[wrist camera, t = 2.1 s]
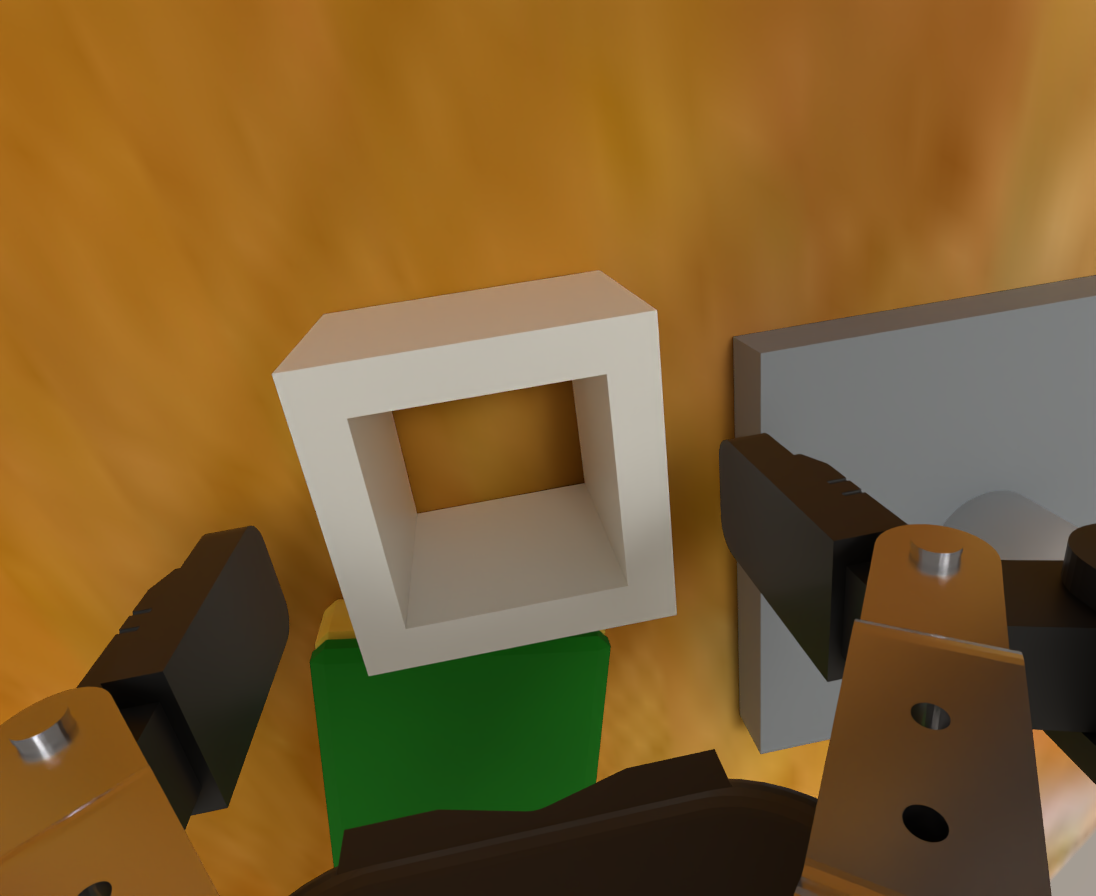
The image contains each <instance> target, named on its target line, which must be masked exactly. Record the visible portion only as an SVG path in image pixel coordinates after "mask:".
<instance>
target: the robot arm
mask: <svg viewBox="0 0 1096 896" xmlns="http://www.w3.org/2000/svg"><path fill="white" fill-rule="evenodd" d="M719 471H720V499H721V522H722V529H723V533H724V537H725V540H726V543H727V546H728V548H729V550H730V552H731V553H732V555H733V556H734V558H735V559H736V560H737V562H738V563H739V564H740V566H741V567H742V568H743V570H744V571H745V572H746V574H747V575H748V576H749V578H750V579H751V580H752V582H753V583H754V584H755V586H756V587H757V588H758V590H759V591H760V592H761V594H762V595H763V596H764V598H765V599H766V600H767V602H768V603H769V605H770V606H771V607H772V609H773V610H774V611H775V613H776V614H777V615H778V617H779V618H780V619H781V621H782V622H783V623H784V625H785V626H786V627H787V629H788V630H789V631H790V633H791V634H792V635H793V637H794V638H795V639H796V641H797V642H798V643H799V645H800V646H801V647H802V649H803V650H804V651H805V653H806V654H807V655H808V657H809V658H810V659H811V661H812V662H813V663H814V665H815V666H816V667H817V669H818V670H819V672H820V673H821V674H822V676H823V677H824V678H825V680H826V681H827V682H831V681H835V680H840V679H842V683H841V688H840V693H839V697H838V702H837V707H836V712H835V717H834V722H833V727H832V732H831V737H830V742H829V747H828V751H827V756H826V761H825V766H824V771H823V776H822V781H821V786H820V791H819V796H818V799H816V798H814V797H812V796H810V795H807V794H804V793H801V792H798V791H795V790H792V789H789V788H786V787H782V786H777V785H773V784H769V783H765V782H758V781H750V780H742V779H728V778H727V775H726V773H725V771H724V769H723V767H722V765H721V762H720V760H719V758H718V756H717V754H716V752H715V749H713V750H708V751H704V752H699V753H695V754H690V755H686V756H681V757H676V758H672V759H667V760H663V761H658V762H653V763H649V764H644V765H640V766H635V767H630V768H626V769H624V770H622V771H620V772H618V773H616V774H614V775H611V776H609V777H607V778H605V779H603V780H601V781H599V782H597V783H595V784H593V785H591V786H588V787H586V788H584V789H582V790H580V791H578V792H576V793H574V794H572V795H570V796H568V797H565V798H563V799H561V800H559V801H557V802H555V803H553V804H551V805H549V806H547V807H544V808H542V809H539V810H534V811H487V810H433V811H429V812H424V813H420V814H415V815H410V816H406V817H401V818H397V819H392V820H388V821H383V822H378V823H374V824H369V825H365V826H360V827H355V828H351V829H346V830H344V834H343V840H342V846H341V852H340V858H339V864H338V866H337V867H335V868H333V869H331V870H329V871H327V872H325V873H323V874H321V875H320V876H318V877H316V878H315V879H313V880H311V881H310V882H308V883H306V884H305V885H303V886H302V887H300V888H299V889H297V890H296V891H295V892H293V893H292V894H291V895H289V896H1051V888H1050V879H1049V870H1048V861H1047V853H1046V844H1045V836H1044V827H1043V818H1042V810H1041V801H1040V792H1039V784H1038V775H1037V766H1036V758H1035V749H1034V741H1033V732H1032V729H1036V730H1043V731H1044V732H1045V733H1046V734H1047V735H1048V736H1049V737H1050V738H1051V739H1052V740H1053V741H1054V742H1055V743H1056V744H1057V745H1058V746H1059V747H1060V748H1061V749H1062V750H1063V751H1064V753H1065V754H1066V755H1067V756H1068V757H1069V758H1070V759H1071V760H1072V761H1073V762H1074V763H1075V764H1076V765H1077V766H1078V767H1079V768H1080V769H1081V770H1082V771H1083V772H1084V773H1085V774H1086V775H1087V776H1088V777H1089V778H1090V779H1091V780H1092V781H1093V782H1094V783H1095V784H1096V524H1090V525H1085V526H1082V527H1080V528H1077V529H1076V530H1074V531H1073V532H1072V533H1071V534H1070V535H1069V538H1068V542H1067V547H1066V552H1065V557H1064V560H1001V559H1000V556H999V554H998V553H997V551H996V550H995V549H994V548H993V547H992V546H991V545H989V544H988V543H987V542H985V541H984V540H982V539H980V538H978V537H977V536H974V535H972V534H970V533H967V532H964V531H961V530H958V529H954V528H950V527H945V526H939V525H930V524H911V525H908V524H907V523H905V522H904V521H903V520H901V519H900V518H899V517H897V516H896V515H895V514H893V513H892V512H891V511H890V510H888V509H887V508H886V507H884V506H883V505H882V504H880V503H879V502H878V501H876V500H875V499H874V498H872V497H871V496H870V495H868V494H867V493H866V492H863V493H862V491H861V488H859V487H858V486H857V485H855V484H854V483H853V482H851V481H850V480H849V481H847V480H846V477H845V476H843V475H842V474H841V473H839V472H838V471H837V470H835V469H834V468H833V467H832V466H830V465H829V464H827V463H825V462H822V461H819V460H816V459H814V458H811V457H808V456H805V455H803V454H796V455H793V454H792V453H791V452H790V451H788V450H787V449H786V448H785V447H783V446H782V445H781V444H780V443H779V442H777V441H776V440H775V439H774V438H772V437H771V436H770V435H768V434H767V433H761V434H755V435H750V436H744V437H739V438H733V439H728V440H723V441H722V443H721V445H720V449H719ZM119 631H120V634H117V635H115V636H114V638H113V639H112V640H111V642H110V643H109V644H108V646H107V647H106V648H105V650H104V651H103V653H102V654H101V655H100V657H99V658H98V659H97V661H96V662H95V663H94V665H93V666H92V667H91V669H90V670H89V672H88V673H87V674H86V676H85V677H84V678H83V680H82V681H81V682H80V684H79V685H78V687H77V688H75V689H71V690H67V691H64V692H60V693H57V694H55V695H52V696H50V697H47V698H45V699H43V700H41V701H39V702H36V703H34V704H33V705H31V706H29V707H27V708H25V709H24V710H22V711H20V712H19V713H17V714H16V715H14V716H13V717H11V718H10V719H8V720H7V721H6V722H4V723H3V724H2V725H0V896H220V895H219V894H218V892H217V890H216V888H215V886H214V884H213V882H212V881H211V879H210V877H209V875H208V873H207V871H206V869H205V868H204V866H203V864H202V862H201V860H200V858H199V856H198V855H197V853H196V851H195V849H194V847H193V845H192V843H191V842H190V840H189V838H188V836H187V834H186V832H185V829H186V826H187V824H188V821H189V819H190V816H191V815H196V814H201V813H205V812H210V811H215V810H219V809H224V808H228V806H229V803H230V800H231V797H232V794H233V791H234V789H235V786H236V783H237V780H238V777H239V775H240V772H241V769H242V766H243V763H244V761H245V758H246V755H247V752H248V749H249V746H250V744H251V741H252V738H253V735H254V732H255V730H256V727H257V724H258V721H259V718H260V716H261V713H262V710H263V707H264V704H265V701H266V699H267V696H268V693H269V690H270V687H271V685H272V682H273V679H274V676H275V673H276V671H277V668H278V665H279V662H280V659H281V656H282V654H283V651H284V648H285V645H286V642H287V639H288V634H289V615H288V609H287V604H286V601H285V598H284V595H283V593H282V590H281V587H280V584H279V582H278V579H277V576H276V573H275V570H274V568H273V565H272V562H271V559H270V556H269V554H268V551H267V548H266V545H265V543H264V540H263V537H262V535H261V533H260V532H259V530H258V529H257V528H256V527H254V526H247V527H242V528H237V529H231V530H226V531H220V532H215V533H209V534H205V535H204V536H203V537H202V538H201V539H200V541H199V542H198V543H197V545H196V546H195V548H194V549H193V551H192V552H191V554H190V555H189V556H188V558H187V559H186V561H185V562H184V564H183V565H182V566H181V568H179V569H175V570H173V571H172V572H171V573H170V574H168V575H167V576H166V577H165V578H163V579H162V580H161V581H159V582H158V583H157V584H156V585H154V586H153V587H152V588H150V589H149V590H148V591H147V593H146V594H145V595H144V597H143V598H142V600H141V601H140V602H139V604H138V605H137V606H136V608H135V609H134V610H133V616H129V617H128V619H127V620H126V621H125V623H124V624H123V625H122V627H121V628H120V629H119Z"/></svg>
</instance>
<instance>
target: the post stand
mask: <svg viewBox="0 0 1096 896" xmlns="http://www.w3.org/2000/svg"><path fill="white" fill-rule="evenodd" d="M733 353H734V411H735V438H739V437H744V436H750V435H755V434H761V433H767V434H768V435H770V436H771V437H772V438H774V439H775V440H776V441H777V442H779V443H780V444H781V445H782V446H783V447H785V448H786V449H787V450H788V451H790V452H791V453H792V454H793V455H796V454H803V455H805V456H808V457H811V458H814V459H816V460H819V461H822V462H825V463H827V464H829V465H830V466H832V467H833V468H834V469H835V470H837V471H838V472H839V473H841V474H842V475H843V476H845V477H846V480H847V481H849V480H850V481H851V482H853V483H854V484H855V485H857V486H858V487H859V488H861V491H862V493H863V492H866V493H867V494H868V495H870V496H871V497H872V498H874V499H875V500H876V501H878V502H879V503H880V504H882V505H883V506H884V507H886V508H887V509H888V510H890V511H891V512H892V513H893V514H895V515H896V516H897V517H899V518H900V519H901V520H903V521H904V522H905V523H907V524H908V525H911V524H930V525H939V526H945V527H950V528H954V529H958V530H961V531H964V532H967V533H970V534H972V535H974V536H977V537H978V538H980V539H982V540H984V541H985V542H987V543H988V544H989V545H991V546H992V547H993V548H994V549H995V550H996V551H997V553H998V554H999V556H1000V559H1001V560H1064V557H1065V552H1066V547H1067V542H1068V538H1069V535H1070V534H1071V533H1072V532H1073V531H1074V530H1076V529H1077V528H1080V527H1082V526H1085V525H1090V524H1096V275H1094V276H1088V277H1082V278H1076V279H1071V280H1065V281H1059V282H1053V283H1047V284H1041V285H1035V286H1029V287H1023V288H1017V289H1012V290H1006V291H1000V292H994V293H988V294H982V295H976V296H970V297H964V298H959V299H953V300H947V301H941V302H935V303H929V304H923V305H917V306H911V307H906V308H900V309H894V310H888V311H882V312H876V313H870V314H864V315H858V316H853V317H847V318H841V319H835V320H829V321H823V322H817V323H811V324H805V325H799V326H794V327H788V328H782V329H776V330H770V331H764V332H758V333H752V334H746V335H741V336H735V337H733ZM737 584H738V642H739V700H740V716H741V718H742V720H743V722H744V723H745V725H746V727H747V729H748V731H749V733H750V735H751V737H752V739H753V741H754V742H755V744H756V746H757V748H758V750H759V752H760V754H763V753H768V752H773V751H777V750H782V749H787V748H791V747H796V746H800V745H805V744H810V743H814V742H819V741H824V740H828V739H830V737H831V732H832V727H833V722H834V717H835V712H836V707H837V702H838V697H839V693H840V688H841V683H842V679H840V680H835V681H831V682H827V681H826V680H825V678H824V677H823V676H822V674H821V673H820V672H819V670H818V669H817V667H816V666H815V665H814V663H813V662H812V661H811V659H810V658H809V657H808V655H807V654H806V653H805V651H804V650H803V649H802V647H801V646H800V645H799V643H798V642H797V641H796V639H795V638H794V637H793V635H792V634H791V633H790V631H789V630H788V629H787V627H786V626H785V625H784V623H783V622H782V621H781V619H780V618H779V617H778V615H777V614H776V613H775V611H774V610H773V609H772V607H771V606H770V605H769V603H768V602H767V600H766V599H765V598H764V596H763V595H762V594H761V592H760V591H759V590H758V588H757V587H756V586H755V584H754V583H753V582H752V580H751V579H750V578H749V576H748V575H747V574H746V572H745V571H744V570H743V568H742V567H741V566H740V564H739V563H738V562H737Z"/></svg>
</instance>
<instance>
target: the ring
mask: <svg viewBox="0 0 1096 896" xmlns="http://www.w3.org/2000/svg"><path fill="white" fill-rule="evenodd" d="M272 376H273V380H274V383H275V386H276V389H277V392H278V395H279V398H280V401H281V405H282V408H283V411H284V414H285V417H286V420H287V423H288V426H289V429H290V433H291V436H292V439H293V442H294V445H295V448H296V451H297V454H298V458H299V461H300V464H301V467H302V470H303V473H304V476H305V479H306V482H307V486H308V489H309V492H310V495H311V498H312V501H313V504H314V507H315V511H316V514H317V517H318V520H319V523H320V526H321V529H322V532H323V536H324V539H325V542H326V545H327V548H328V551H329V554H330V557H331V560H332V564H333V567H334V570H335V573H336V576H337V579H338V582H339V585H340V589H341V592H342V595H343V598H344V601H345V604H346V607H347V610H348V613H349V617H350V620H351V623H352V626H353V629H354V632H355V635H356V638H357V642H358V645H359V648H360V651H361V654H362V657H363V660H364V663H365V666H366V670H367V673H368V676H373V675H378V674H383V673H388V672H393V671H398V670H403V669H408V668H413V667H418V666H423V665H428V664H433V663H438V662H443V661H448V660H453V659H458V658H463V657H468V656H473V655H478V654H483V653H488V652H493V651H498V650H503V649H508V648H513V647H518V646H523V645H528V644H533V643H538V642H543V641H548V640H553V639H558V638H563V637H568V636H573V635H578V634H583V633H588V632H593V631H598V630H604V629H609V628H614V627H619V626H624V625H629V624H634V623H639V622H644V621H649V620H654V619H659V618H664V617H669V616H674V615H677V608H676V593H675V578H674V562H673V547H672V531H671V516H670V501H669V485H668V470H667V454H666V439H665V424H664V408H663V393H662V377H661V362H660V347H659V331H658V316H657V310H656V309H655V308H653V307H652V306H650V305H649V304H647V303H646V302H645V301H643V300H642V299H640V298H639V297H637V296H636V295H635V294H633V293H632V292H630V291H629V290H627V289H626V288H625V287H623V286H622V285H620V284H619V283H617V282H616V281H614V280H613V279H612V278H610V277H609V276H607V275H606V274H604V273H603V272H602V271H600V270H597V271H591V272H585V273H578V274H572V275H566V276H560V277H553V278H547V279H541V280H535V281H528V282H522V283H516V284H510V285H503V286H497V287H491V288H485V289H478V290H472V291H466V292H460V293H453V294H447V295H441V296H435V297H428V298H422V299H416V300H410V301H403V302H397V303H391V304H385V305H378V306H372V307H366V308H360V309H353V310H347V311H341V312H335V313H328V314H323V316H322V317H321V318H320V319H319V320H318V321H317V322H316V324H315V325H314V326H313V327H312V328H311V329H310V330H309V332H308V333H307V334H306V335H305V336H304V337H303V339H302V340H301V341H300V342H299V343H298V344H297V345H296V347H295V348H294V349H293V350H292V351H291V352H290V353H289V355H288V356H287V357H286V358H285V359H284V360H283V362H282V363H281V364H280V365H279V366H278V367H277V368H276V370H275V371H274V372H273V373H272ZM569 380H572V384H573V392H574V400H575V408H576V416H577V424H578V432H579V440H580V448H581V456H582V464H583V473H584V481H585V483H582V484H577V485H572V486H566V487H561V488H555V489H550V490H544V491H539V492H533V493H528V494H522V495H517V496H511V497H506V498H500V499H495V500H489V501H484V502H479V503H473V504H468V505H462V506H457V507H451V508H446V509H440V510H435V511H429V512H424V513H418V514H417V511H416V507H415V503H414V499H413V495H412V491H411V487H410V483H409V479H408V475H407V471H406V467H405V463H404V459H403V454H402V450H401V446H400V442H399V438H398V434H397V430H396V426H395V422H394V418H393V414H392V411H394V410H400V409H406V408H412V407H418V406H423V405H429V404H435V403H441V402H447V401H453V400H458V399H464V398H470V397H476V396H482V395H488V394H493V393H499V392H505V391H511V390H517V389H523V388H528V387H534V386H540V385H546V384H552V383H558V382H563V381H569Z"/></svg>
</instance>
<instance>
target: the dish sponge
mask: <svg viewBox="0 0 1096 896" xmlns="http://www.w3.org/2000/svg"><path fill="white" fill-rule="evenodd" d="M610 648H611V646H610V643H609V640H608V637H606V636H605V629H604V630H598V631H593V632H588V633H583V634H578V635H573V636H568V637H563V638H558V639H553V640H548V641H543V642H538V643H533V644H528V645H523V646H518V647H513V648H508V649H503V650H498V651H493V652H488V653H483V654H478V655H473V656H468V657H463V658H458V659H453V660H448V661H443V662H438V663H433V664H428V665H423V666H418V667H413V668H408V669H403V670H398V671H393V672H388V673H383V674H378V675H373V676H368V673H367V670H366V666H365V663H364V660H363V657H362V654H361V651H360V648H359V645H358V642H357V638H356V635H355V632H354V629H353V626H352V623H351V620H350V617H349V613H348V610H347V607H346V604H345V601H344V599H337V600H336V601H335V602H334V603H333V604H331V605H330V606H329V607H328V608H327V609H326V610H325V611H324V614H323V617H322V621H321V624H320V628H319V631H318V635H317V638H316V642H315V650H314V651H313V652H312V656H311V659H310V669H311V677H312V686H313V694H314V703H315V711H316V720H317V728H318V736H319V745H320V753H321V762H322V770H323V779H324V787H325V796H326V804H327V813H328V821H329V829H330V838H331V846H332V855H333V863H334V868H335V867H337V866H338V864H339V858H340V852H341V846H342V840H343V834H344V830H346V829H351V828H355V827H360V826H365V825H369V824H374V823H378V822H383V821H388V820H392V819H397V818H401V817H406V816H410V815H415V814H420V813H424V812H429V811H433V810H487V811H534V810H539V809H542V808H544V807H547V806H549V805H551V804H553V803H555V802H557V801H559V800H561V799H563V798H565V797H568V796H570V795H572V794H574V793H576V792H578V791H580V790H582V789H584V788H586V787H588V786H591V785H593V784H595V783H596V778H597V768H598V759H599V750H600V740H601V731H602V722H603V713H604V703H605V694H606V685H607V676H608V666H609V657H610Z"/></svg>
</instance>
